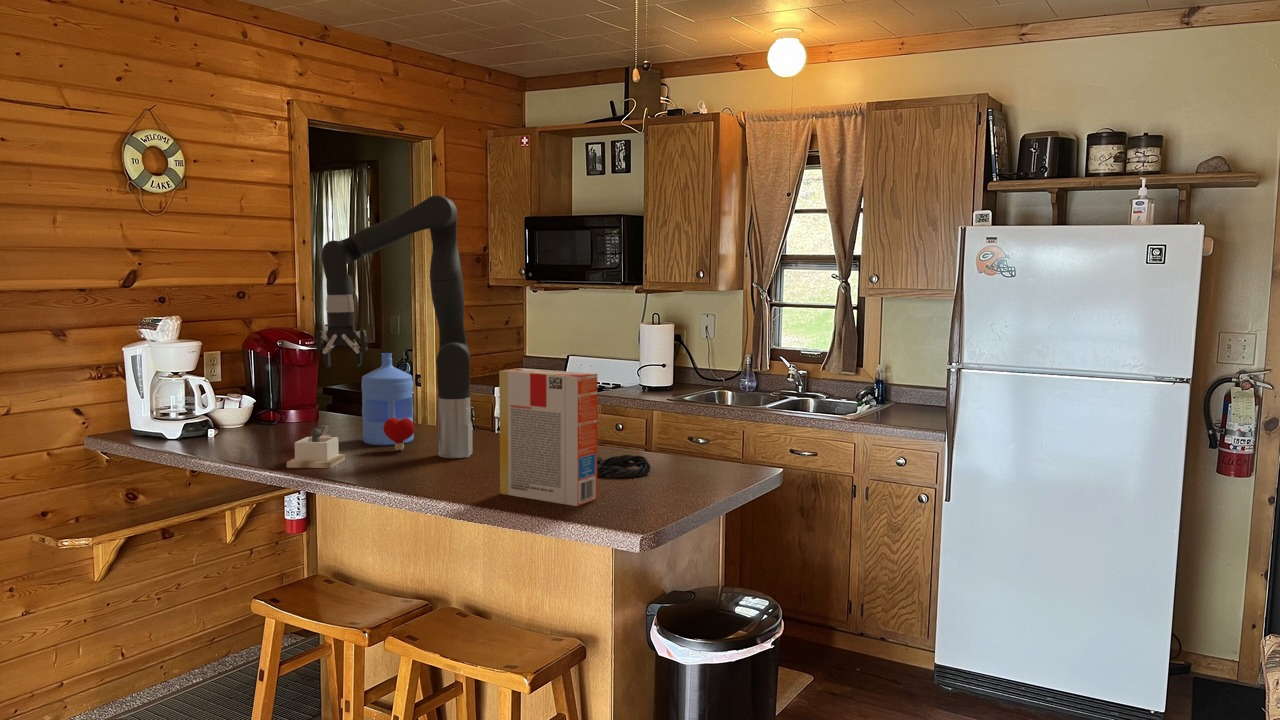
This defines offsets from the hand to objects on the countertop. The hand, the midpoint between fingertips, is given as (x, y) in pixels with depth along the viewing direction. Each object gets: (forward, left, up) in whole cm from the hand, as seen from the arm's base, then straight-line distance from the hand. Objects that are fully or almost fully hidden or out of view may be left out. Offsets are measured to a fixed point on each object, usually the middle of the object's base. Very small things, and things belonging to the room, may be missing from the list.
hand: (343, 366), depth 268 cm
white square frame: (+4, +9, -25) cm, 27 cm away
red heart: (-14, -7, -26) cm, 31 cm away
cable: (-81, +20, -27) cm, 88 cm away
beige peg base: (+4, +12, -26) cm, 29 cm away
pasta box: (-65, +47, -26) cm, 84 cm away
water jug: (-6, -23, -26) cm, 35 cm away
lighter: (+9, -3, -26) cm, 28 cm away
